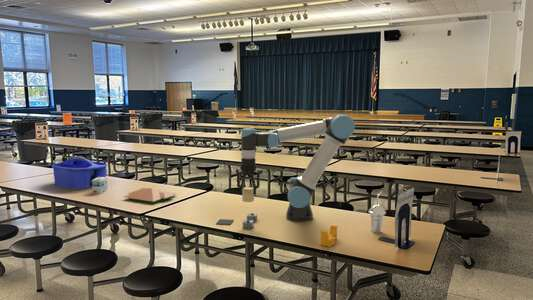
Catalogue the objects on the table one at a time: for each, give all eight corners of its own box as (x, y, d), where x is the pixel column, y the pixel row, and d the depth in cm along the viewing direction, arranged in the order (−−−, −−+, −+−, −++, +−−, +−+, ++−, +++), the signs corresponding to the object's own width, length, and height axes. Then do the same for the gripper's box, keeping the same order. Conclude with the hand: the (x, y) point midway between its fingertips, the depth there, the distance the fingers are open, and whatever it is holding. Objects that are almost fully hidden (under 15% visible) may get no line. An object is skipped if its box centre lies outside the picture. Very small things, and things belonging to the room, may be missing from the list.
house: (156, 207, 236) (156, 194, 235) (118, 200, 251) (118, 189, 250) (180, 198, 257) (179, 187, 256) (143, 193, 271) (143, 182, 270)
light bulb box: (101, 194, 266) (100, 179, 264) (92, 194, 266) (91, 179, 264) (108, 191, 276) (107, 176, 275) (99, 191, 276) (98, 176, 275)
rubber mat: (233, 220, 208) (233, 219, 208) (230, 225, 200) (230, 224, 200) (219, 219, 209) (219, 219, 209) (215, 224, 201) (215, 223, 201)
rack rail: (257, 219, 210) (257, 212, 210) (252, 228, 194) (252, 221, 194) (248, 218, 211) (248, 212, 210) (242, 228, 195) (242, 221, 195)
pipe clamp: (329, 246, 171) (329, 233, 170) (320, 244, 173) (320, 231, 172) (340, 239, 180) (340, 226, 179) (332, 237, 183) (332, 224, 182)
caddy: (81, 179, 320) (79, 152, 317) (116, 184, 298) (115, 155, 295) (44, 186, 292) (42, 156, 289) (80, 193, 271) (78, 161, 268)
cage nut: (253, 199, 204) (253, 187, 203) (251, 202, 198) (251, 189, 197) (245, 199, 204) (245, 186, 203) (243, 202, 199) (243, 189, 198)
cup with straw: (364, 229, 193) (365, 191, 191) (378, 227, 197) (379, 190, 194) (375, 235, 185) (376, 195, 183) (389, 232, 189) (391, 193, 186)
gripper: (265, 157, 201) (265, 199, 204) (233, 156, 203) (233, 197, 206) (263, 159, 193) (263, 203, 196) (230, 158, 196) (230, 201, 199)
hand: (248, 200), depth 201 cm, fingers closed on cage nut, 4 cm apart
